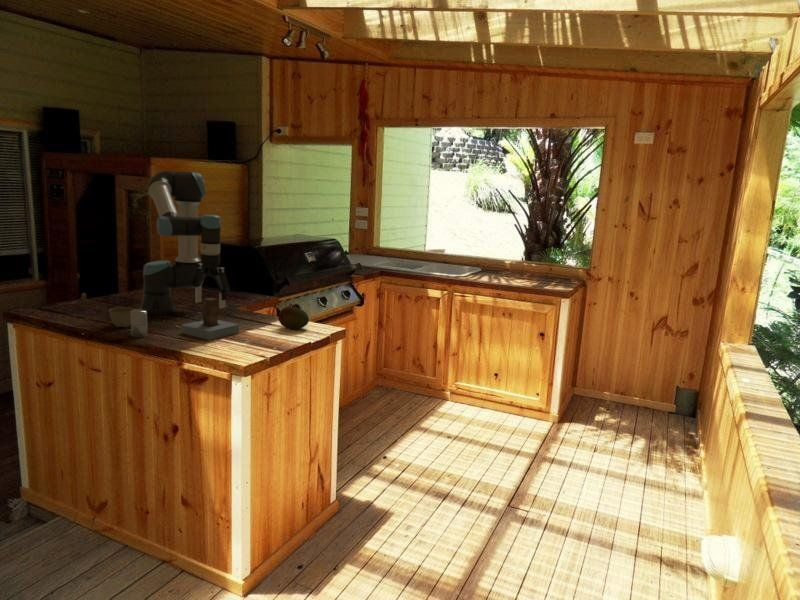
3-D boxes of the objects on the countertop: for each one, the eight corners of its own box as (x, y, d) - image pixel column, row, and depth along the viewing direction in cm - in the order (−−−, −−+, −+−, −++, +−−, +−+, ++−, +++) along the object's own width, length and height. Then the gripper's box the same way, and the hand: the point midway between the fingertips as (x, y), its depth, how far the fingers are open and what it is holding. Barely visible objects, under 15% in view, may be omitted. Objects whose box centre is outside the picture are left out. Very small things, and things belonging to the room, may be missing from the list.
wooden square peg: (203, 332, 248) (203, 298, 246) (210, 330, 252) (210, 297, 249) (210, 333, 246) (210, 300, 244) (217, 332, 250) (217, 299, 247)
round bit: (127, 335, 238) (127, 310, 236) (140, 332, 243) (140, 308, 241) (137, 338, 235) (137, 313, 233) (150, 335, 240) (150, 310, 238)
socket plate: (181, 333, 246) (181, 324, 245) (211, 326, 260) (211, 318, 259) (209, 340, 238) (209, 331, 238) (238, 332, 252) (238, 324, 252)
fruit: (274, 327, 265) (275, 304, 263) (300, 324, 273) (300, 302, 271) (286, 333, 256) (287, 310, 254) (312, 330, 264) (313, 307, 262)
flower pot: (141, 325, 255) (140, 308, 253) (123, 330, 245) (122, 313, 244) (122, 322, 258) (121, 306, 256) (103, 327, 248) (103, 310, 247)
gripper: (181, 250, 246) (181, 301, 250) (226, 258, 234) (225, 311, 238) (195, 249, 252) (195, 298, 256) (240, 256, 240) (239, 308, 245)
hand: (210, 305), depth 247 cm, fingers open, 13 cm apart
